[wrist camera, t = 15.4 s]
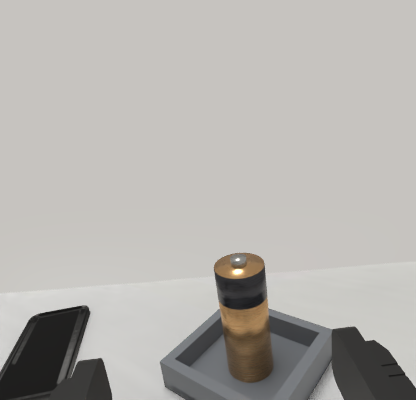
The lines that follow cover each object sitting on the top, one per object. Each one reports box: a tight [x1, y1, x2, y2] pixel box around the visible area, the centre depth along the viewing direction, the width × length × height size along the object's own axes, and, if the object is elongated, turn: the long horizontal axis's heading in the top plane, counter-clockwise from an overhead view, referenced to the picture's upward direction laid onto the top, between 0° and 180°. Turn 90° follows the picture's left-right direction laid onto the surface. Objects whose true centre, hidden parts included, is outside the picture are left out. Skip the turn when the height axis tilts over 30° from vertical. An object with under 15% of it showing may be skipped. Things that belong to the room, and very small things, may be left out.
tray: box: [160, 309, 332, 400], centre depth 35 cm, size 12×12×3 cm
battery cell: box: [214, 253, 273, 383], centre depth 33 cm, size 4×4×12 cm
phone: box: [0, 306, 90, 400], centre depth 42 cm, size 8×1×15 cm
